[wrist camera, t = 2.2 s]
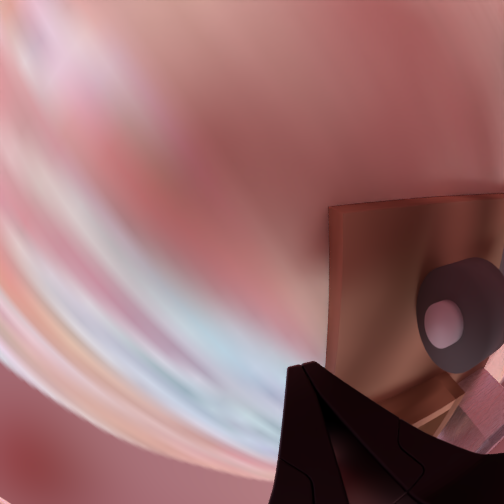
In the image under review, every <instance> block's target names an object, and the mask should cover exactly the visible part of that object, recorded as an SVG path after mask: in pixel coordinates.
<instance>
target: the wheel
mask: <svg viewBox="0 0 504 504" xmlns="http://www.w3.org/2000/svg"><path fill="white" fill-rule="evenodd" d="M416 316H417V325H418V330H419V334H420V338H421V340H422V343H423V345H424V348H425V350H426V352H427V353H428V355H429V356H430V358H431V359H432V360H433V362H434V363H435V364H436V365H437V366H438V367H440V368H441V369H443V370H444V371H446V372H449V373H454V374H459V373H464V372H466V371H468V370H470V369H471V368H473V367H474V366H476V365H477V364H479V363H480V362H482V361H483V360H484V359H486V358H487V357H489V356H490V355H491V354H493V353H494V352H495V351H497V350H498V349H499V348H500V347H501V346H502V345H503V344H504V276H503V274H502V273H501V271H500V270H499V269H498V268H497V267H496V266H495V265H494V264H492V263H491V262H489V261H488V260H485V259H483V258H479V257H472V258H467V259H464V260H461V261H457V262H454V263H451V264H447V265H444V266H441V267H438V268H435V269H433V270H432V271H431V272H430V273H428V275H427V276H426V277H425V279H424V280H423V282H422V284H421V286H420V289H419V292H418V297H417V305H416Z"/></svg>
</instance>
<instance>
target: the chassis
mask: <svg viewBox="0 0 504 504" xmlns="http://www.w3.org/2000/svg"><path fill="white" fill-rule="evenodd" d="M328 210H329V313H328V334H327V351H326V364H325V369H327V370H328V371H330V372H331V373H332V374H334V375H335V376H337V377H338V378H340V379H341V380H343V381H344V382H346V383H347V384H349V385H350V386H351V387H353V388H354V389H356V390H357V391H359V392H360V393H362V394H363V395H365V396H367V397H368V398H370V399H371V400H373V401H374V402H376V403H377V404H379V405H380V406H382V407H383V408H385V409H387V410H388V411H390V412H391V413H393V414H394V415H396V416H398V417H399V419H403V420H404V421H406V422H408V423H409V424H411V425H413V426H414V427H416V428H418V429H420V430H422V431H423V432H425V433H428V434H430V435H432V436H434V437H436V438H437V437H438V435H439V434H440V433H441V431H442V430H443V428H444V427H445V425H446V424H447V422H448V421H449V419H450V418H451V416H452V415H453V413H454V411H455V410H456V408H457V407H458V405H459V403H460V402H461V400H462V398H463V396H464V395H465V392H464V390H463V389H462V388H461V387H460V386H459V385H458V383H459V382H461V381H462V380H464V379H465V378H467V377H468V376H470V375H471V374H473V373H474V372H476V371H477V370H479V369H480V368H481V367H483V368H484V367H485V365H486V363H487V360H488V358H489V357H487V358H486V359H484V360H483V361H482V362H480V363H479V364H477V365H476V366H474V367H473V368H471V369H470V370H468V371H466V372H464V373H459V374H454V373H449V372H446V371H444V370H443V369H441V368H440V367H438V366H437V365H436V364H435V363H434V362H433V360H432V359H431V358H430V356H429V355H428V353H427V352H426V350H425V348H424V345H423V343H422V340H421V338H420V334H419V330H418V325H417V316H416V305H417V297H418V292H419V289H420V286H421V284H422V282H423V280H424V279H425V277H426V276H427V275H428V273H430V272H431V271H432V270H433V269H435V268H438V267H441V266H444V265H447V264H451V263H454V262H457V261H461V260H464V259H467V258H472V257H479V258H483V259H485V260H488V261H489V262H491V263H492V264H494V265H495V266H496V267H497V268H498V269H499V270H500V271H501V273H502V274H503V276H504V193H500V194H476V195H458V196H442V197H428V198H414V199H402V200H390V201H379V202H369V203H359V204H349V205H340V206H331V207H328Z"/></svg>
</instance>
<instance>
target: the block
mask: <svg viewBox="0 0 504 504" xmlns="http://www.w3.org/2000/svg"><path fill="white" fill-rule="evenodd" d="M458 385H459V386H460V387H461V388H462V389H463V390H464V392H465V395H464V396H463V398H462V400H461V402H460V403H459V405H458V407H457V408H456V410H455V411H454V413H453V415H452V416H451V418H450V419H449V421H448V422H447V424H446V425H445V427H444V428H443V430H442V431H441V433H440V434H439V435H438V437H437V438H438V439H441V440H443V441H446V442H448V443H450V444H453V445H456V446H458V447H461V448H463V449H466V450H469V451H472V452H475V453H480V454H488V453H489V452H490V451H491V450H492V449H493V448H494V447H495V446H496V445H497V444H498V443H499V442H500V441H501V440H502V439H503V438H504V388H503V387H502V385H501V384H500V383H499V382H498V381H497V380H496V379H495V378H494V377H493V376H492V375H491V374H490V373H489V372H488V371H487V370H485V369H484V368H483V367H481V368H480V369H479V370H477V371H476V372H474V373H473V374H471V375H470V376H468V377H467V378H465V379H464V380H462V381H461V382H459V383H458Z"/></svg>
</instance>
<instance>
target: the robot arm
mask: <svg viewBox="0 0 504 504" xmlns="http://www.w3.org/2000/svg"><path fill="white" fill-rule="evenodd" d="M268 504H504V453H498V454H480V453H475V452H472V451H469V450H466V449H463V448H461V447H458V446H456V445H453V444H450V443H448V442H446V441H443V440H441V439H438V438H436V437H434V436H432V435H430V434H428V433H425V432H423V431H422V430H420V429H418V428H416V427H414V426H413V425H411V424H409V423H408V422H406V421H404V420H403V419H399V417H398V416H396V415H394V414H393V413H391V412H390V411H388V410H387V409H385V408H383V407H382V406H380V405H379V404H377V403H376V402H374V401H373V400H371V399H370V398H368V397H367V396H365V395H363V394H362V393H360V392H359V391H357V390H356V389H354V388H353V387H351V386H350V385H349V384H347V383H346V382H344V381H343V380H341V379H340V378H338V377H337V376H335V375H334V374H332V373H331V372H330V371H328V370H327V369H325V368H324V367H322V366H321V365H320V364H318V363H317V362H315V361H311V362H307V363H303V364H302V365H294V366H290V367H288V368H287V376H286V388H285V399H284V409H283V418H282V428H281V437H280V445H279V453H278V461H277V468H276V474H275V480H274V485H273V490H272V493H271V496H270V500H269V503H268Z"/></svg>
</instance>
